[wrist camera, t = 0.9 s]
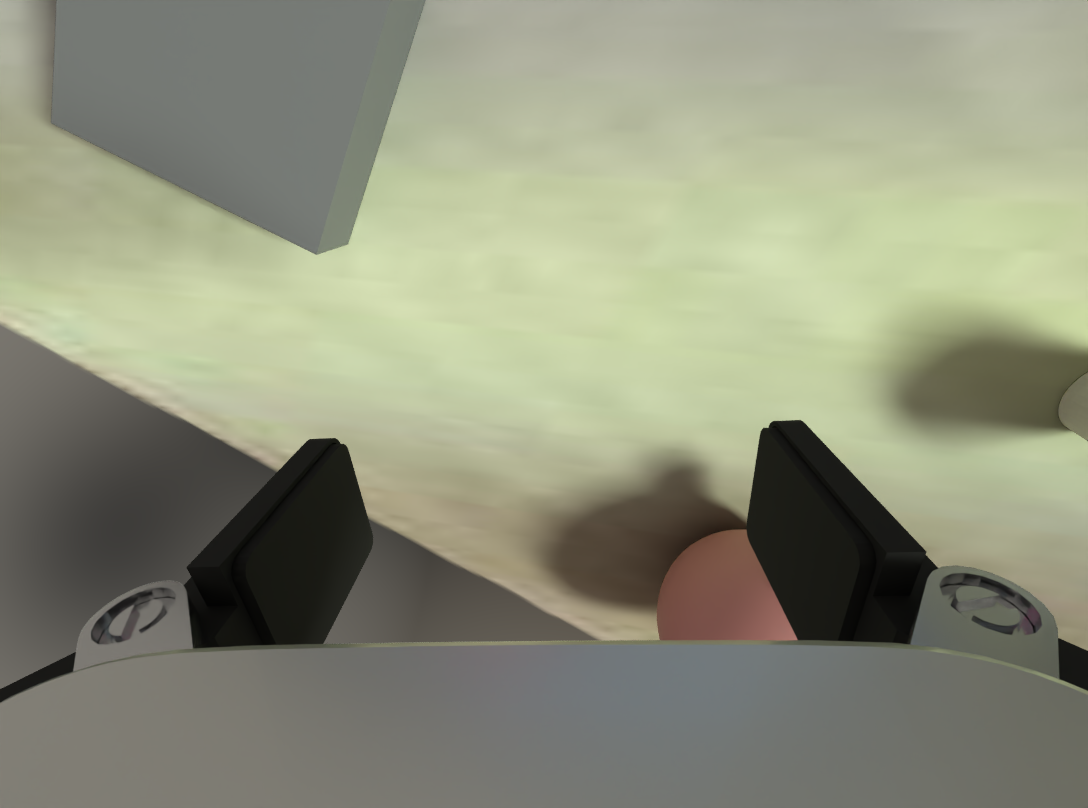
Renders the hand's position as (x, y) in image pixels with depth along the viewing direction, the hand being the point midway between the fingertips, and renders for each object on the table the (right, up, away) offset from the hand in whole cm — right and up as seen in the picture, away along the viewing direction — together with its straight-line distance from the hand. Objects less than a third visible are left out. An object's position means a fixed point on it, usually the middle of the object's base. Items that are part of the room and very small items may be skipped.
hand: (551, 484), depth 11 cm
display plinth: (-18, +23, +20) cm, 35 cm away
